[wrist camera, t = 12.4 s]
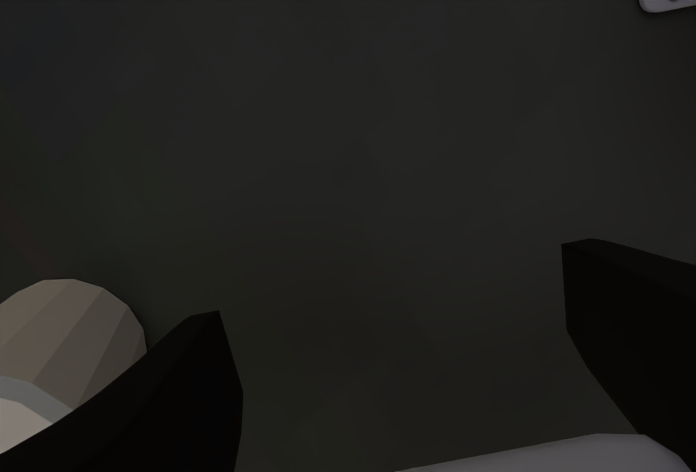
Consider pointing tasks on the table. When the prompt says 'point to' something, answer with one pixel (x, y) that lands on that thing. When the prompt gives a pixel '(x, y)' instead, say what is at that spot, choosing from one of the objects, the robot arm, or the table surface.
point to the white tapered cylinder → (60, 352)
